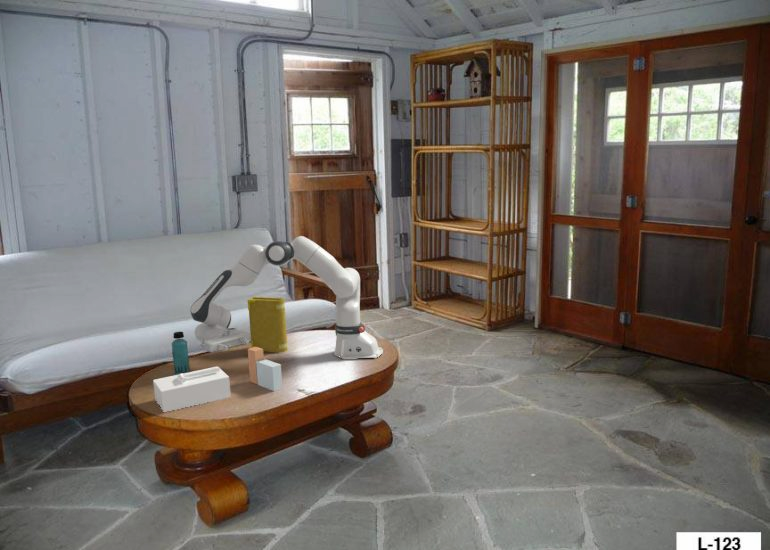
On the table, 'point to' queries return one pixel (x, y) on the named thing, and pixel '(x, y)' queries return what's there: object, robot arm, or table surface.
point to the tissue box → (191, 388)
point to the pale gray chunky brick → (269, 374)
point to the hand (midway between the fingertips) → (237, 345)
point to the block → (254, 362)
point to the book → (268, 323)
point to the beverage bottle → (180, 354)
